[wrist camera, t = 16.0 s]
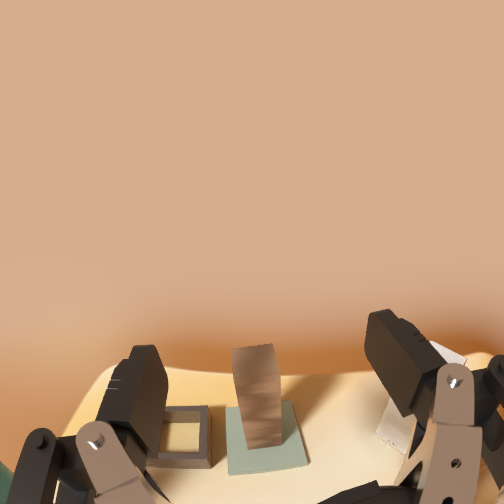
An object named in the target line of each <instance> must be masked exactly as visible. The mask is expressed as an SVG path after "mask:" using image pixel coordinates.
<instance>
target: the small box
mask: <svg viewBox="0 0 504 504" xmlns="http://www.w3.org/2000/svg"><path fill="white" fill-rule="evenodd" d="M429 342H430V343H431V344H432V346H433V347H434V348H435V349H436V350H437V351H438V352H439V353H440V355H441V356H442V357H443V358H444V359H445V360H446V361H447V363H459V364H462V365H465V363H466V361H467V358H465V357H463V356H461V355H459V354H457V353H455V352H453V351H451V350H449V349H447V348H445V347H443V346H441V345H439V344H437V343H435V342H433V341H429ZM415 419H416V417H415V415H414V414H411V415H409V416H407V417H404V418H403V417H402V416H401V414H400V412H399V410H398V409H397V407H396V405H395V404H394V402H393V400H392V399H391V397H390V398H389V400H388V403H387V406H386V408H385V411H384V413H383V416H382V418H381V420H380V422H379V425H378V427H377V429H376V431H375V434H376V435H377V436H378V437H380V438H381V439H382V440H384V441H385V442H387V443H388V444H389V445H391V446H392V447H394V448H395V449H396V450H398V451H399V452H401V453H402V454H404V455H406V453H407V449H408V445H409V441H410V437H411V433H412V429H413V424H414V421H415Z"/></svg>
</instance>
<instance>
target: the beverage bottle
mask: <svg viewBox="0 0 504 504" xmlns="http://www.w3.org/2000/svg"><path fill="white" fill-rule="evenodd" d="M13 476H14V473H13V472H12V471H11V470H9V469H8V468H7V467H6V466H5V465H4V464H3V463H2V462H1V461H0V504H6V502H7V498H8V494H9V490H10V486H11V483H12V479H13Z"/></svg>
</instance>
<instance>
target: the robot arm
mask: <svg viewBox="0 0 504 504" xmlns="http://www.w3.org/2000/svg"><path fill="white" fill-rule="evenodd" d="M364 345H365V354H366V357H367V359H368V361H369V362H370V364H371V365H372V367H373V369H374V370H375V372H376V374H377V375H378V377H379V379H380V380H381V382H382V383H383V385H384V387H385V388H386V390H387V392H388V393H389V395H390V397H391V399H392V400H393V402H394V404H395V405H396V407H397V409H398V410H399V412H400V414H401V416H402V417H403V418H404V417H407V416H409V415H411V414H414V415H415V417H416V419H415V421H414V424H413V429H412V433H411V437H410V441H409V445H408V449H407V453H406V456H405V460H404V463H403V465H402V468H401V470H400V471H399V473H398V475H397V477H396V480H395V482H394V485H393V486H379V485H378V483H377V480H375V481H372V482H369V483H367V484H364V485H361V486H358V487H355V488H352V489H349V490H345V491H342V492H340V493H338V494H336V495H334V496H332V497H330V498H328V499H326V500H324V501H322V502H320V503H318V504H504V420H503V419H502V418H501V416H500V415H499V413H498V412H497V410H496V409H497V408H498V406H499V405H500V404H501V405H502V406H503V408H504V355H497V356H494V357H493V358H492V359H491V360H490V362H489V364H488V366H487V368H484V369H479V370H474V371H470V370H469V369H468V368H467V367H466V366H464V365H462V364H459V363H447V361H446V360H445V359H444V358H443V357H442V356H441V355H440V353H439V352H438V351H437V350H436V349H435V348H434V347H433V346H432V344H431V343H430V342H429V341H428V340H426V338H425V337H424V336H423V335H422V334H420V331H419V330H418V329H417V328H416V327H415V326H414V325H413V324H412V323H410V322H408V321H406V320H404V319H403V318H401V319H398V317H397V316H396V315H395V314H394V313H393V312H392V311H391V310H390V309H385V310H381V311H376V312H372V313H370V314H369V317H368V324H367V331H366V338H365V344H364ZM167 393H168V377H167V374H166V371H165V369H164V366H163V364H162V362H161V359H160V357H159V354H158V352H157V349H156V347H155V346H154V345H136V346H134V347H133V348H132V351H131V353H130V356H129V359H123V360H122V361H121V362H120V363H119V364H118V365H117V366H116V368H115V369H114V372H113V374H112V377H111V381H110V382H109V384H108V389H106V392H105V395H104V397H103V400H102V403H101V406H100V408H99V411H98V414H97V417H96V420H95V421H93V422H89V423H87V424H85V425H84V426H83V427H82V428H80V430H79V431H78V433H77V435H74V436H66V437H56V436H55V435H54V434H53V433H52V431H50V430H49V429H46V428H38V429H35V430H34V431H32V432H31V433H30V434H29V435H28V437H27V439H26V441H25V444H24V446H23V449H22V452H21V455H20V458H19V460H18V463H17V466H16V470H15V473H14V476H13V479H12V483H11V486H10V490H9V494H8V498H7V502H6V504H53V499H54V494H55V489H56V484H57V480H58V481H60V483H59V487H58V492H57V497H56V502H55V504H174V503H173V502H172V501H171V500H170V498H169V497H168V496H167V495H166V493H165V492H164V491H163V489H162V488H161V487H160V485H159V484H158V483H157V481H156V480H155V479H154V477H153V476H152V475H151V473H150V472H149V470H148V469H147V468H146V461H147V458H151V459H158V452H159V445H160V438H161V431H162V424H163V418H164V411H165V405H166V399H167ZM481 455H482V457H483V459H484V461H485V463H486V464H485V465H484V466H483V467H482V468H481V469H480V470H479V468H480V459H481ZM96 493H97V496H96Z"/></svg>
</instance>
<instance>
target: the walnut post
mask: <svg viewBox="0 0 504 504" xmlns="http://www.w3.org/2000/svg"><path fill="white" fill-rule="evenodd" d="M231 354H232V366H233V378H234V383H235V389H236V394H237V399H238V404H239V409H240V414H241V419H242V424H243V429H244V434H245V439H246V443H247V448H248V450H252V449H260V448H268V447H274V446H280V445H282V424H281V381H280V368H279V365H278V361H277V358H276V355H275V351H274V347H273V344H272V343H271V344H264V345H257V346H249V347H242V348H232V349H231Z"/></svg>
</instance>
